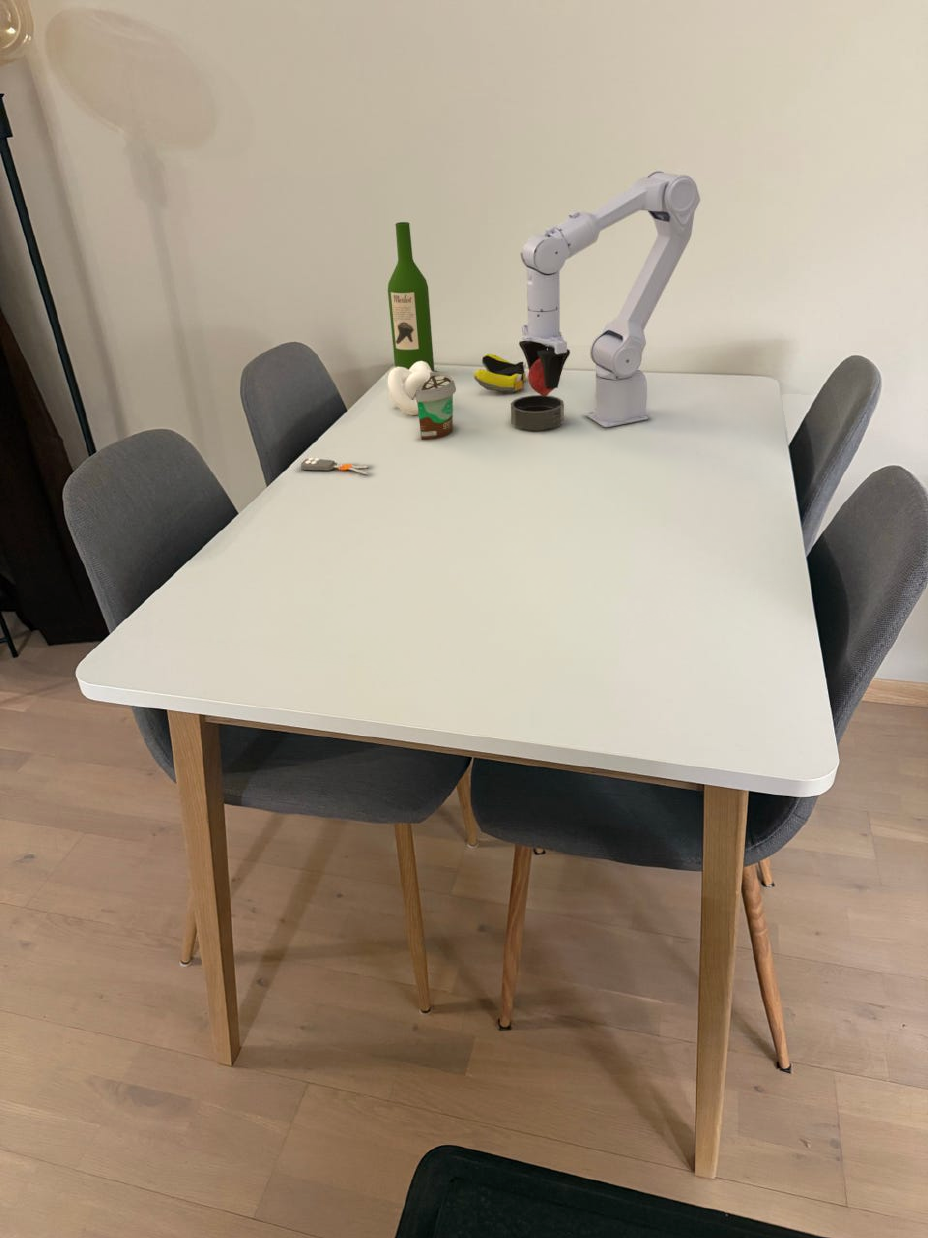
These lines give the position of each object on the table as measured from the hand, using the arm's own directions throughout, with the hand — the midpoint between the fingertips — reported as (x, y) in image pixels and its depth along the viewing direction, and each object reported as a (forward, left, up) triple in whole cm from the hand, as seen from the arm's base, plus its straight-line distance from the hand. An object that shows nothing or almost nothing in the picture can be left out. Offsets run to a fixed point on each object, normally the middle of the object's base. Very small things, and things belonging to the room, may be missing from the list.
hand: (544, 383), depth 168 cm
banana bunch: (-4, -30, -10) cm, 31 cm away
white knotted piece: (+17, -26, -10) cm, 32 cm away
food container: (+17, -10, -10) cm, 22 cm away
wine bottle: (+10, -48, -10) cm, 50 cm away
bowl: (-1, -5, -9) cm, 11 cm away
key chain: (+41, -1, -10) cm, 42 cm away
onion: (0, 0, -3) cm, 3 cm away
